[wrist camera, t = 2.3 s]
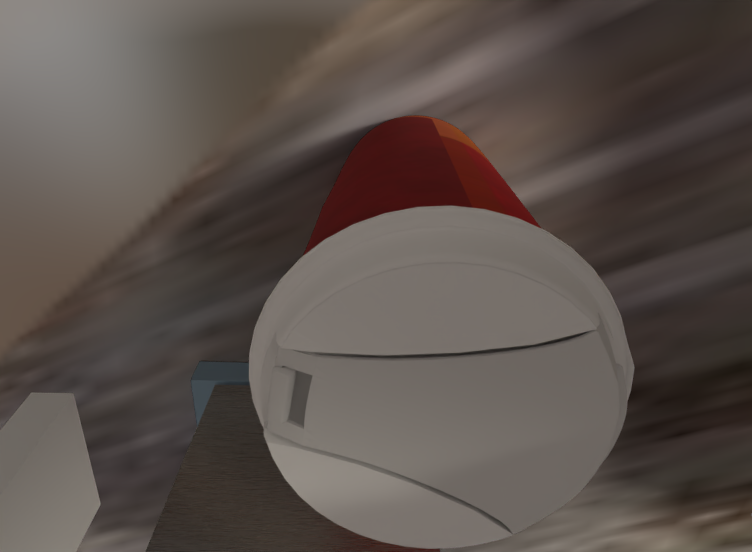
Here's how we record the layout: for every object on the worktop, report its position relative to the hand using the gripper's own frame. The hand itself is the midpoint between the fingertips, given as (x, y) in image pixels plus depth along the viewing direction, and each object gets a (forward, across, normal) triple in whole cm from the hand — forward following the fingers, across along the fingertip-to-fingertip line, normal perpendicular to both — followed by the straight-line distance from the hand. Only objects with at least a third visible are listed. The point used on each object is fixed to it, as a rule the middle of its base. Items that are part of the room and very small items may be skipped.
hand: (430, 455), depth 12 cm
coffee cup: (+16, 0, 0) cm, 16 cm away
